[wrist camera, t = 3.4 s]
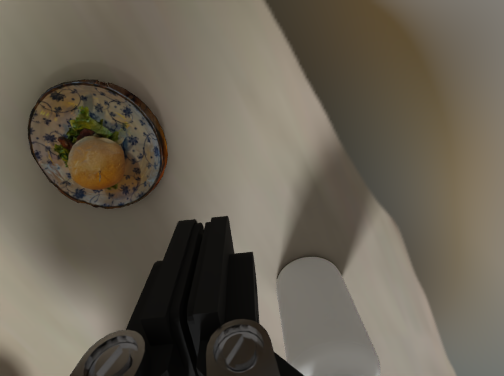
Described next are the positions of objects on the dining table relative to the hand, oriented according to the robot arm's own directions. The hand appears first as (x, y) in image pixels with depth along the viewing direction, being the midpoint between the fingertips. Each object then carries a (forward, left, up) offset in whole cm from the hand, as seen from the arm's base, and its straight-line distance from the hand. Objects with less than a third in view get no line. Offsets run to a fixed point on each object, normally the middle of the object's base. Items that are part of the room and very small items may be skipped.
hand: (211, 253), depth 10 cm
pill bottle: (-19, -7, -18) cm, 28 cm away
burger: (0, +12, -19) cm, 22 cm away
